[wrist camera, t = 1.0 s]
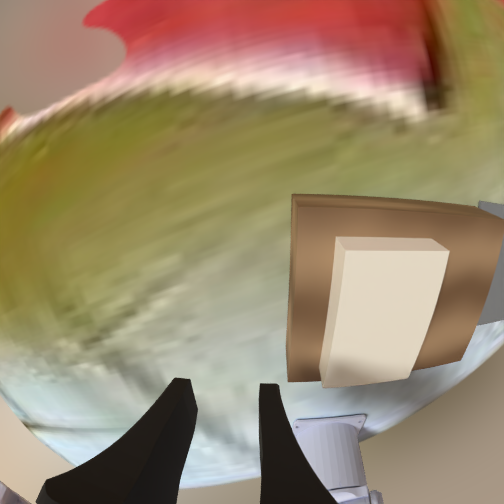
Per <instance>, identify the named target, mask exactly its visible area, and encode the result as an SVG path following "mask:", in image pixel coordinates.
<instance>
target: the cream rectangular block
mask: <svg viewBox="0 0 504 504" xmlns="http://www.w3.org/2000/svg"><path fill="white" fill-rule="evenodd" d="M449 252H450V251H449V250H447V249H446V248H445V247H443V246H442V245H440V244H439V243H437V242H436V241H434V240H433V239H429V238H389V237H336V241H335V252H334V263H333V273H332V282H331V290H330V298H329V306H328V313H327V320H326V327H325V334H324V340H323V346H322V352H321V358H320V364H319V370H320V375H321V381H322V387H323V388H334V387H346V386H356V385H366V384H374V383H381V382H388V381H395V380H401V379H407V378H408V377H409V375H410V373H411V370H412V368H413V366H414V363H415V361H416V359H417V356H418V354H419V351H420V349H421V346H422V344H423V341H424V338H425V336H426V333H427V330H428V327H429V324H430V321H431V318H432V315H433V312H434V309H435V306H436V303H437V299H438V296H439V292H440V289H441V285H442V281H443V278H444V274H445V269H446V265H447V261H448V256H449Z"/></svg>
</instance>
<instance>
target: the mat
mask: <svg viewBox="0 0 504 504" xmlns="http://www.w3.org/2000/svg"><path fill="white" fill-rule="evenodd" d="M478 208H480V209H482V210H484V211H487V212H489V213H491V214H494V215H496V216H498V217H500V218H502V219H504V205H502V204H496V203H490V202H484V201H479V207H478ZM500 320H504V236H503V241H502V245H501V250H500V254H499V258H498V262H497V266H496V270H495V273H494V277H493V280H492V283H491V287H490V290H489V293H488V296H487V299H486V302H485V305H484V307H483V310H482V313H481V315H480V318H479V321H478V323H477V325H482V324H487V323H492V322H496V321H500Z"/></svg>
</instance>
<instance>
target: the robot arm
mask: <svg viewBox="0 0 504 504" xmlns="http://www.w3.org/2000/svg"><path fill="white" fill-rule="evenodd" d="M197 412H198V408H197V404H196V400H195V397H194V393H193V389H192V385H191V380H190V379H184V378H174V379H173V380H172V382H171V383H170V384H169V385H168V387H167V388H166V389H165V391H164V392H163V393H162V394H161V396H160V397H159V398H158V399H157V400H156V402H155V403H154V404H153V405H152V406H151V407H150V409H149V410H148V411H147V412H146V413H145V414H144V415H143V416H142V417H141V419H140V420H139V421H138V422H137V423H136V424H135V425H134V426H133V427H132V428H130V429H129V430H128V431H127V432H126V433H125V434H124V435H123V436H122V437H121V438H119V439H118V440H117V441H116V442H115V443H113V444H112V445H111V446H110V447H108V448H107V449H105V450H104V451H103V452H101V453H100V454H98V455H97V456H95V457H94V458H92V459H90V460H89V461H87V462H85V463H83V464H81V465H80V466H78V467H76V468H74V469H72V470H70V471H68V472H65V473H63V474H60V475H58V476H55V477H52V478H50V479H47V480H46V481H45V483H44V485H43V486H42V489H41V491H40V493H39V495H38V498H37V500H36V503H37V504H176V503H177V496H178V490H179V484H180V479H181V475H182V471H183V468H184V464H185V461H186V458H187V454H188V451H189V448H190V444H191V441H192V438H193V434H194V431H195V425H196V419H197ZM365 419H366V416H365V415H364V414H361V415H354V416H345V417H335V418H323V419H307V420H296V421H294V424H293V430H292V428H291V426H290V423H289V421H288V418H287V416H286V413H285V410H284V406H283V403H282V399H281V395H280V389H279V385H278V384H264V383H260V390H259V445H260V463H261V496H260V504H384V503H383V498H382V493H381V492H377V490H373V491H371V492H369V489H368V487H367V483H366V477H365V472H364V467H363V462H362V457H361V452H360V448H359V442H358V438H357V435H358V433H359V431H360V429H361V427H362V425H363V423H364V421H365ZM370 494H371V496H370ZM0 504H31V503H30V502H28V501H27V500H25V499H24V498H23V497H21V496H20V495H19V494H17V493H16V492H14V491H12V490H11V489H10V488H9V487H7V486H6V485H5V484H4V483H2V482H1V481H0Z"/></svg>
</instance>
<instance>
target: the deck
mask: <svg viewBox="0 0 504 504" xmlns="http://www.w3.org/2000/svg"><path fill="white" fill-rule="evenodd" d="M503 236H504V219H502V218H500V217H498V216H496V215H494V214H491V213H489V212H487V211H484V210H482V209H480V208H477V207H475V206H468V205H460V204H451V203H442V202H433V201H422V200H411V199H398V198H384V197H368V196H348V195H321V194H292V209H291V250H290V277H289V299H288V318H287V334H286V359H287V377H288V382H313V381H321V375H320V370H319V364H320V358H321V352H322V346H323V340H324V334H325V327H326V320H327V313H328V306H329V298H330V290H331V282H332V273H333V263H334V252H335V241H336V237H389V238H429V239H433V240H434V241H436V242H437V243H439V244H440V245H442V246H443V247H445V248H446V249H447V250H449V251H450V252H449V256H448V261H447V265H446V269H445V274H444V278H443V281H442V285H441V289H440V292H439V296H438V299H437V303H436V306H435V309H434V312H433V315H432V318H431V321H430V324H429V327H428V330H427V333H426V336H425V338H424V341H423V344H422V346H421V349H420V351H419V354H418V356H417V359H416V361H415V363H414V366H413V368H412V370H411V371H414V370H419V369H424V368H430V367H434V366H439V365H444V364H448V363H452V362H456V361H460V360H461V359H462V357H463V355H464V353H465V351H466V349H467V346H468V344H469V342H470V340H471V338H472V335H473V333H474V330H475V328H476V326H477V323H478V321H479V318H480V315H481V313H482V310H483V307H484V305H485V302H486V299H487V296H488V293H489V290H490V287H491V283H492V280H493V277H494V273H495V270H496V266H497V262H498V258H499V254H500V250H501V245H502V241H503Z"/></svg>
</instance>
